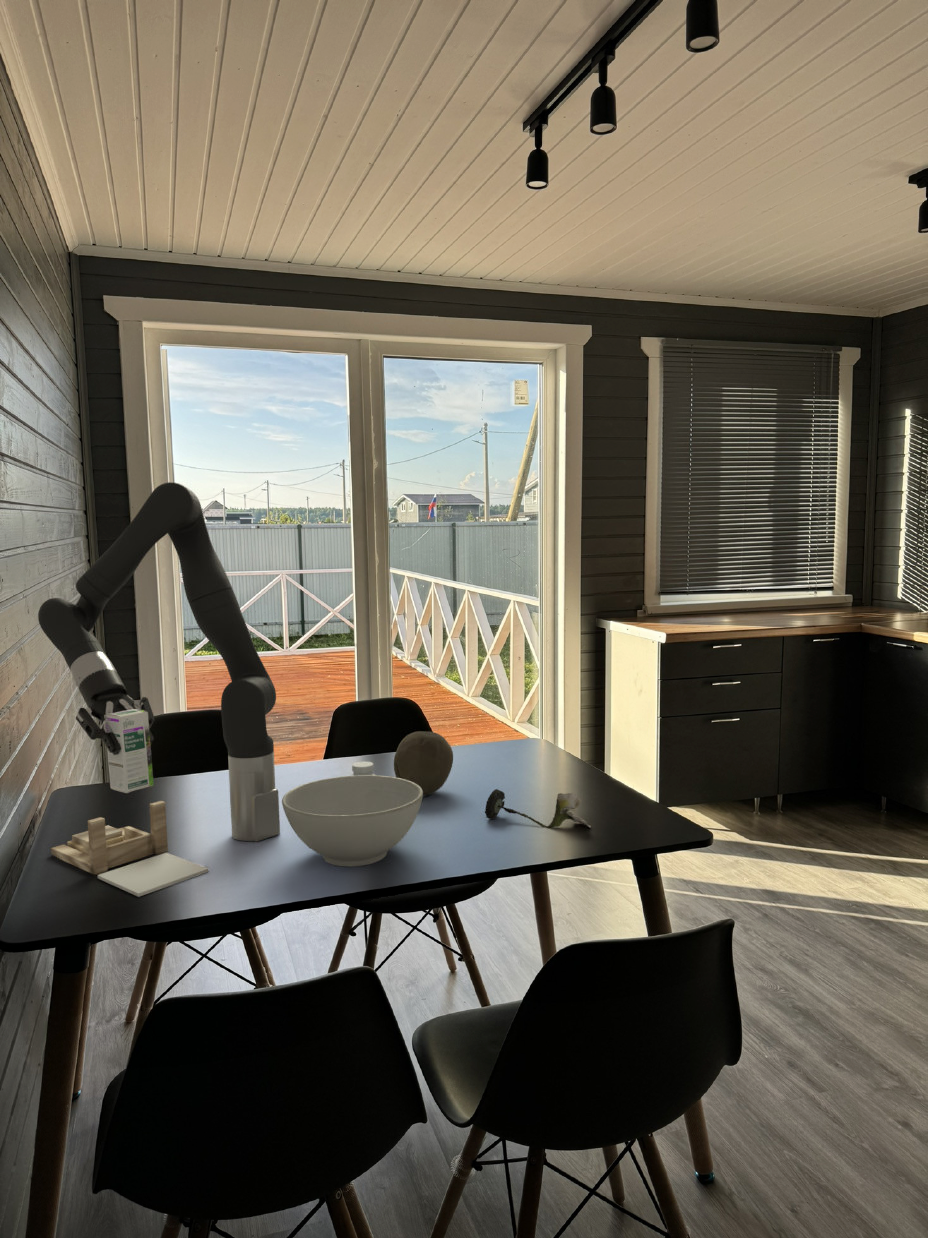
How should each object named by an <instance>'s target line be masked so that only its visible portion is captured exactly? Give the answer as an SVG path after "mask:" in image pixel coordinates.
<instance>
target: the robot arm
mask: <svg viewBox="0 0 928 1238" xmlns="http://www.w3.org/2000/svg"><path fill="white" fill-rule="evenodd" d="M150 493H151V494H150V495H149V496H148V497H147V498H146V501H145V502H144V503H143V505H142V507H141V508H140V509H139V510H138V512H137V513H136V515H135V517H134V518H132V520H131V522H130V523H129V525H128V526H127V527H126V528H125V529H124V530H123V532H122V533H121V534H120V536H118V537H117V539H116V540H115V541H114V542H113V543H112V545H110V546H109V547H108V548H107V550H106V551H104V553H103V554H101V556H100V557H99V558H97V560H96V561H95V562H94V563H93V564H92V565H91V566H90V567H89V568H88V569H87V570H86V571H85V572H84V573H83V574H82V575H81V576H80V577H79V579H78V580H76V583H75V589H76V591H77V592H78V594H79V595H80V596H79V598H78V600H77V601H76V603H73V602H71V601H69V600H66V599H64V598H61V597H52V598H49V599H47V600H45V601H44V602H42V604H41V605H40V607H39V610H38V614H37V617H38V623H39V626H40V628H41V630H42V632H43V633H44V634H45V636H46V637H47V638H48V639H49V641H51V643H52V644H53V646H54V647H55V648H56V649H57V650H58V651H59V652H60V653H61V654H62V656H63V658H64V661H65V662H66V665H67V666H68V669H69V670H70V672H71V675H72V678H73V681H74V683H75V686H76V687H77V689H78V691H79V693H80V694H81V697H82V699H83V700H84V703H85V704H86V706H87V708H85V707H80V708H79V709H78V711H77V713H76V716H75V720H76V721H77V723H78V724H79V725H80V727H81V728H82V729H83V730H84V732H85V733H86V735H87V736H88V737H89V739H90V740H96V739H100V740H102V741H103V742H104V744H105V746H106V748H108V750H109V752H111V753H113V755H117V754H119V752H120V750H121V747H120V745H119V743H118V741H117V739H116V737H115V735H114V733H111V727H110V725H109V723H108V718H107V716H106V714H111V713H116V712H121V711H126V710H132V709H140V710H144V711H147V712H148V721H149V733H150V745H151V746H152V744H153V743H154V739H155V738H154V737H155V736H154V735H153V734H152V732H151V730H150V729H151V728H152V725H153V723H154V722H155V720H156V718H155V716H154V715H155V714H154V712H153V710H152V707H151V704H150V701H149V698H148V697H146V696H142V698H141V699H136V700H135V699H133V698H132V697H130V695H129V694H128V691H127V688H126V686H125V684H124V683H123V680H122V679H121V677H120V675H119V674H118V671H117V669H116V668H115V666H114V665H113V663H112V661H111V660H110V659H109V657H108V656H107V654H106V652H105V651H104V649H103V646H102V645H101V644H100V641H99V640H98V638H96V636H95V635H93V634H92V633H91V630H93V628H94V627H95V625H96V623H97V621H98V620H99V617H100V616H101V614H102V613H103V611H104V609H105V607H106V605H107V603H108V602H109V601H110V600H111V599H112V598H113V597H114V596H115V595H116V594H117V593H118V592H119V591H120V590H121V588H123V587H124V586H125V584H126V583H127V582H128V581H129V580H130V578H131V577H132V576H133V574H134V573H135V572H136V570H137V569H138V567H139V566H140V565H141V562H142V561H143V559H144V558H145V557H146V555H147V554H148V553H149V551H150V550H151V549H153V547H154V546H155V545H156V544H157V543H158V542H159V541H160V540H161V539H162V538H164V537H165V536H166V535H167V534H168V537H169V539H170V540H171V542H172V545H173V548H174V549H175V552H176V553H177V557H178V559H179V564H180V569H181V575H182V576H181V577H182V583H183V588H184V589H183V590H184V593H185V597H186V599H187V601H188V605H189V607H190V611H191V613H192V615H193V618H194V620H195V622H196V625H197V626H198V628H199V629H200V631H201V633H202V634H203V635H204V636H205V638H206V639H207V641H209V642H210V644H211V645H212V646H213V647H214V648H215V649H216V651H217V652H218V653H219V655H220V656H221V658H222V660H223V661H224V664H225V666H226V668H227V671H228V674H229V677H230V680H231V682H229V683H228V684H227V685H225V688H224V689H223V691H222V694H221V700H220V711H221V723H222V734H223V740H224V741H223V742H224V743H225V746H226V748H227V754H228V755H227V757H228V758H227V759H228V782H229V785H228V786H229V799H230V800H229V802H230V819H231V820H230V821H231V837H232V838H233V839H235V840H237V841H242V842H243V841H245V842H247V841H248V842H250V841H251V842H260V841H264V840H265V839H268V838H271V837H274V836H275V837H276V836H277V835H280V834H281V825H280V824H281V822H280V821H281V820H280V804H279V803H280V801H279V799H280V798H279V796H280V795H279V790H278V789H277V788H276V774H275V773H276V772H275V770H276V769H275V749H274V747H275V746H274V740H273V738H272V737H271V736H270V735H269V734H268V731H267V719H266V715H267V714H269V713H270V712H271V711H272V710H273V709H274V708H275V705H276V701H277V691H276V688H275V685H274V683H273V681H272V678H271V677H270V675H269V673H268V671H267V670H266V667H265V665H264V663H263V661H262V660H261V658H260V656H259V653H258V651H257V649H256V647H255V645H254V642H253V640H252V637H251V633H250V631H249V628H248V625H247V624H246V620H245V618H244V616H243V613H242V610H241V607H240V604H239V602H238V599H237V597H236V594H235V591H234V589H233V586H232V584H231V582H230V579H229V578H228V575H227V573H226V571H225V569H224V567H223V564H222V562H221V560H220V559H219V557H218V555H217V552H216V550H215V548H214V546H213V543H212V540H211V537H210V535H209V531H208V527H207V524H206V520H205V517H204V513H203V509H202V504H201V502H200V499H199V497H198V496H197V495H196V493H194V492H193V490H191V489H189V488H188V487H187V486H185V485H183V484H181V483H179V482H173V481H169V482H164V483H161V484H160V485H158V486H157V487H155V488H154V490H153V491H152V492H150ZM104 715H105V719H104ZM93 717H94V718H95V719H97V720H98V721H100V725H98V724H97V722H96V721H95V720H94V718H93Z"/></svg>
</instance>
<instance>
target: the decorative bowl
mask: <svg viewBox="0 0 928 1238" xmlns="http://www.w3.org/2000/svg"><path fill="white" fill-rule="evenodd" d="M423 797H424V796H423V791H422V789H421V787H420V786H419V785H417V784H415V783H414V782H411V781H408V780H405V779H401V778H396V776H395V777H394V776H388V775H387V776H386V775H376V774H375V775H357V776H351V775H346V776H345V775H344V776H335V777H329V778H324V779H319V780H314V781H310V782H307V783H304V784H301V785H299V786H296V787H293V788H292V789H290V790H288V791H287V792H285V794H284V795H283V797H282V799H281V804H282V808H283V812H284V814H285V817H286V819H287V821H288V823H289V825H290V827H291V829H292V830H293V832H294V833H295V834H296V836H297V837H298V838H299V840H301V842H302V843H304V844H305V845H306V847H308V848H309V849H310V850H312V851H313V852H315V853H317V854H319V855H321V856H322V859H323V860H324V861H325V862H326V863H328V864H330V865H333V866H337V867H351V868H352V867H360V866H361V867H362V866H367V865H371V864H375V863H377V862H380V861H382V860H383V859H384V858H385V857H387V855H388V851H390V850H391V849H392V848H393V847H396V845H397V844H399V843H400V842H401V840H403V838H404V837H405V836H406V835H407V834H408V832H409V831H410V829H411V828H412V826H413V824H414V823H415V820H416V819H417V816H418V814H419V812H420V809H421V805H422V801H423Z"/></svg>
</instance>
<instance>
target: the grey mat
mask: <svg viewBox="0 0 928 1238" xmlns="http://www.w3.org/2000/svg"><path fill="white" fill-rule="evenodd" d="M209 871H210V870H209V868H208V867H205V866H203V865H200V864H197V863H195V862H193V861H190V860H187V859H184V858H181V857H179V856H177V855H174V854H171V853H169V852H164V853H161V854H158V855H154V856H152V857H149V858H145V859H143V860H140V861H137V862H133V863H130V864H128V865H125V866H122V867H118V868H114V869H111V870H108V871H106V872H102V873H99V874H97V879H99V880H101V881H103V882H105V883H107V884H110V885H111V886H114V887H116V888H119V889H120V890H123V891H125V892H127V893H129V894H132V895H134V896H136V897H138V898H140V897H142V896H144V895H148V894H150V893H153V892H157V891H159V890H161V889H165V888H167V887H170V886H173V885H176V884H179V883H182V882H184V881H186V880H190V879H192V878H195V877H198V876H200V875H203V874H205V873H208V872H209Z"/></svg>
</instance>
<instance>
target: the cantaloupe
mask: <svg viewBox="0 0 928 1238" xmlns="http://www.w3.org/2000/svg"><path fill="white" fill-rule="evenodd" d="M452 748H453V747H452V746H451V744H450V742H449V741H447V740H446V738H445V737H443V735H441V734H440V733H437V732H433V731H420V730H419V731H414V732H411V733H409V734H407V735H405V737H404V738H402V740H401V741H400V743H399V744H398V747H397V749H396V751H395V754H394V758H393V770H394V771H393V772H394V775H395V777H396V778H401V779H405V780H408V781H411V782H414V783H415V784H417V785H419V786H420V787H421V789H422V791H423V797H427V796H430V795H431V794H434V793H436V792H438V791H439V790H440V789H441V788H442V787H443V786H444V784H445V783H446V782H447V780H448V778H449V775H450V774H451V770H452V768H453V764H454V752H453V749H452Z"/></svg>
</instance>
